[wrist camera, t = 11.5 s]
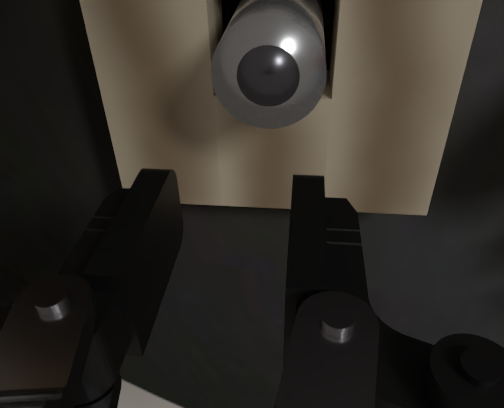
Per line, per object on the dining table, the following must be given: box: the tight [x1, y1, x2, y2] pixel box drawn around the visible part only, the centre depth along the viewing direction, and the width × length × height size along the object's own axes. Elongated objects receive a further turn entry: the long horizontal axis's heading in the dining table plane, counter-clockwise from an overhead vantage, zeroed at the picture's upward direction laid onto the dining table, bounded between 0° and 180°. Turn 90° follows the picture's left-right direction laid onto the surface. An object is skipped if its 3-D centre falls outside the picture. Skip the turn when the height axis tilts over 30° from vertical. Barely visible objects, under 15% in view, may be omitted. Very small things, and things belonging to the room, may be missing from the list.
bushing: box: [211, 0, 326, 129], centre depth 21 cm, size 4×4×9 cm
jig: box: [79, 0, 483, 215], centre depth 25 cm, size 18×14×4 cm
